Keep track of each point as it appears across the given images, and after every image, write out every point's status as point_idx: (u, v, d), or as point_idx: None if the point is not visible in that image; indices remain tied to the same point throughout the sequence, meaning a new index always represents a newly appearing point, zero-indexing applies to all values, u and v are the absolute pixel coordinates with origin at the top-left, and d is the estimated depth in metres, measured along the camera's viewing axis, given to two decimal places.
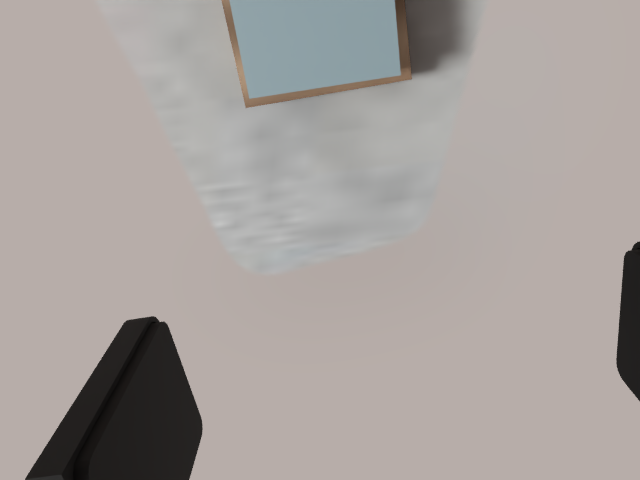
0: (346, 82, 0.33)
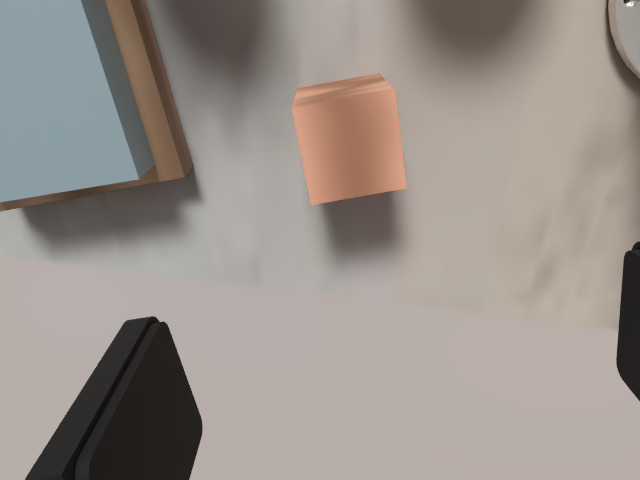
0: None
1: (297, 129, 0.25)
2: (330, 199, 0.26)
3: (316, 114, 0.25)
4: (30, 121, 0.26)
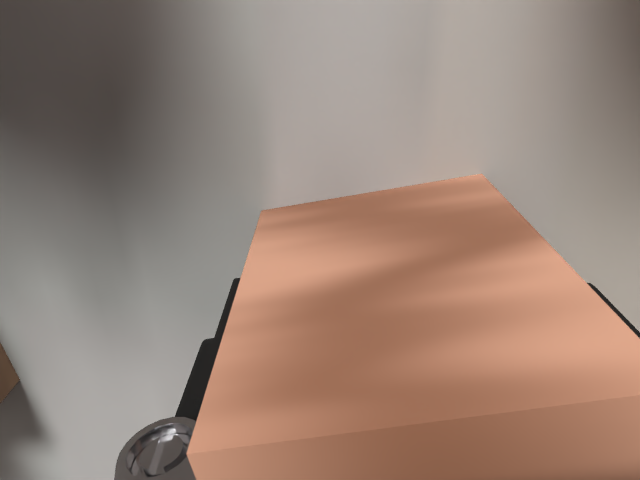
0: None
1: None
2: None
3: (301, 472, 0.05)
4: None
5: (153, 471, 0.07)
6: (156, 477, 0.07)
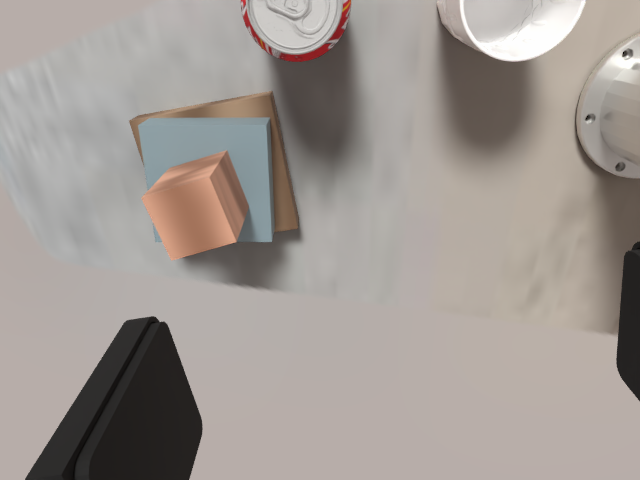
0: None
1: (148, 210, 0.35)
2: (184, 255, 0.36)
3: (159, 199, 0.35)
4: None
5: None
6: None
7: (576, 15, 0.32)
